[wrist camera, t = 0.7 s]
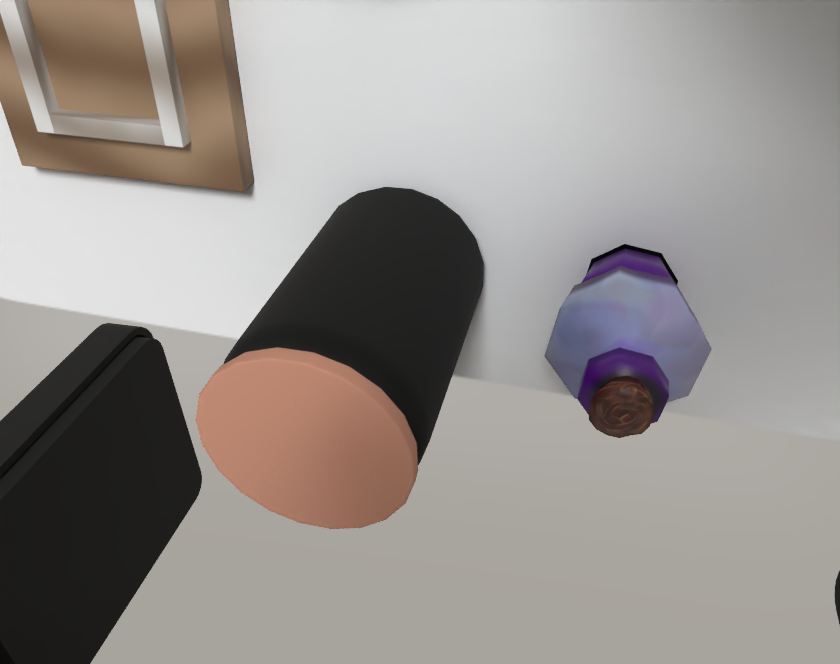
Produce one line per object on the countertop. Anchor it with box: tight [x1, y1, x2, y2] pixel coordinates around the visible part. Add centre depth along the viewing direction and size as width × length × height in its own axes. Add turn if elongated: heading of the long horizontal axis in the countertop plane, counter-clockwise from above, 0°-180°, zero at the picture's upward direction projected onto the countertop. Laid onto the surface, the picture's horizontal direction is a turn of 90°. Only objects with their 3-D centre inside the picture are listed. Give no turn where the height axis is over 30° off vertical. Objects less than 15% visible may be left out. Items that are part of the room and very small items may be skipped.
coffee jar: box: [196, 187, 484, 529], centre depth 41 cm, size 11×11×18 cm
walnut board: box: [0, 0, 254, 192], centre depth 43 cm, size 16×16×2 cm
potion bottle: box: [545, 244, 711, 438], centre depth 41 cm, size 9×9×12 cm
